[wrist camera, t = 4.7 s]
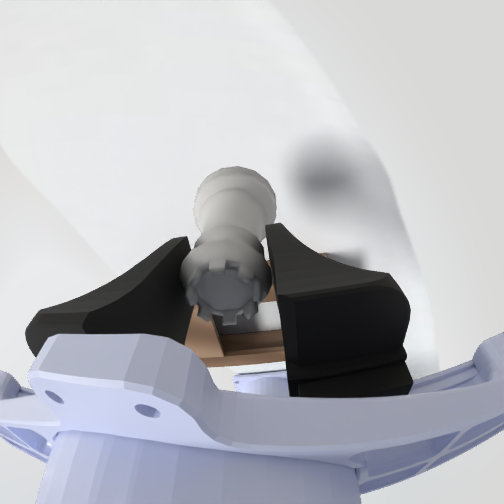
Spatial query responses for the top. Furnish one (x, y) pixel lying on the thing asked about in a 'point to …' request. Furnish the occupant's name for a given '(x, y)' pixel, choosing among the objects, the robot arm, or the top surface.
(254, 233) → the rook chess piece
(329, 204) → the top surface
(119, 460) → the robot arm
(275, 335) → the brown wooden hollow block
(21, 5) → the top surface
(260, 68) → the top surface
